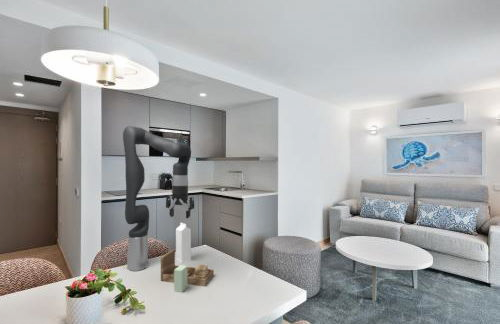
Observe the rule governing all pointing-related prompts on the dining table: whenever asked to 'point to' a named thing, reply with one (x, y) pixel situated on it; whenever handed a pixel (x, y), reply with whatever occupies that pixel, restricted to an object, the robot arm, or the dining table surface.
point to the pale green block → (180, 278)
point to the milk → (183, 243)
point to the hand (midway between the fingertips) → (179, 217)
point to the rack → (169, 266)
